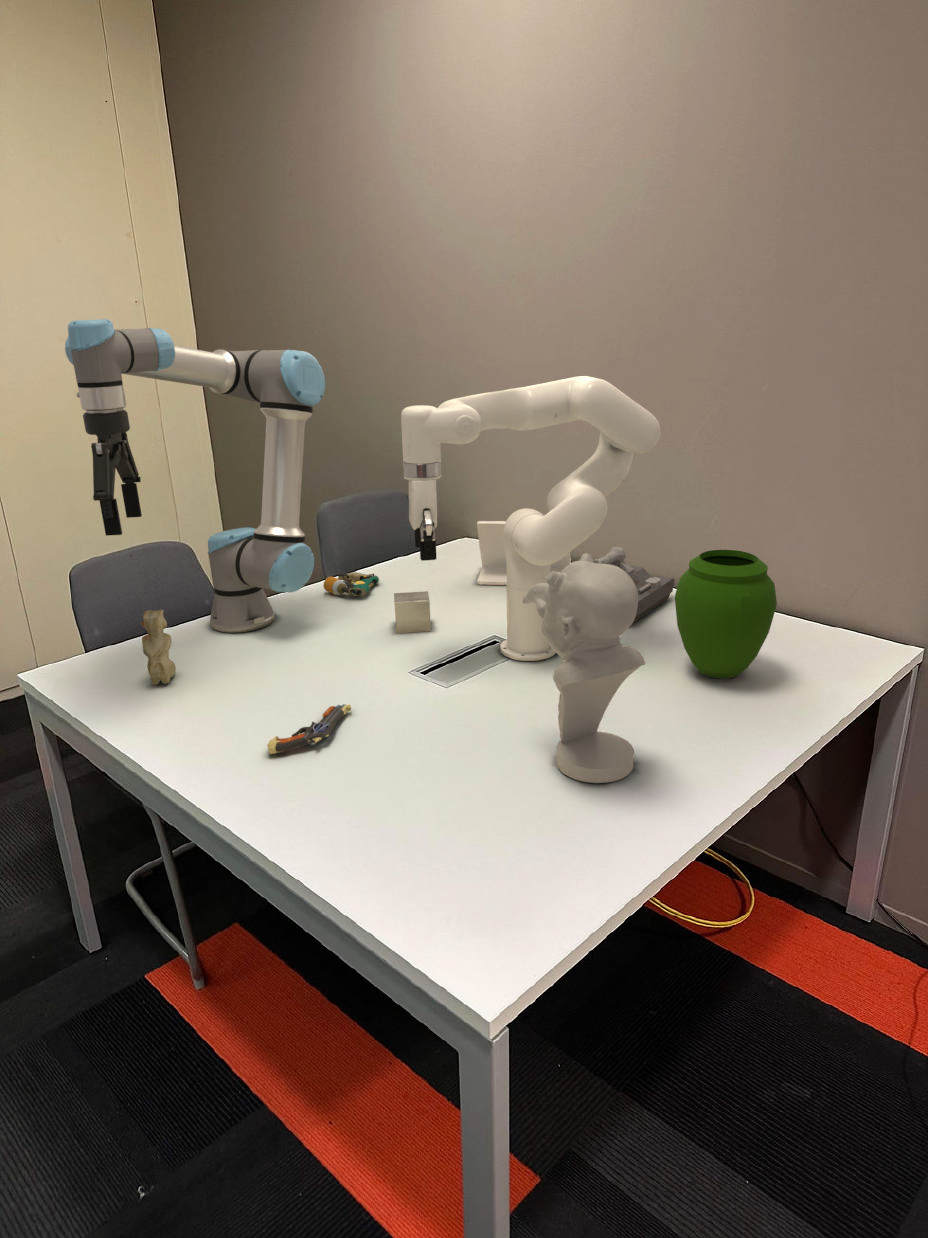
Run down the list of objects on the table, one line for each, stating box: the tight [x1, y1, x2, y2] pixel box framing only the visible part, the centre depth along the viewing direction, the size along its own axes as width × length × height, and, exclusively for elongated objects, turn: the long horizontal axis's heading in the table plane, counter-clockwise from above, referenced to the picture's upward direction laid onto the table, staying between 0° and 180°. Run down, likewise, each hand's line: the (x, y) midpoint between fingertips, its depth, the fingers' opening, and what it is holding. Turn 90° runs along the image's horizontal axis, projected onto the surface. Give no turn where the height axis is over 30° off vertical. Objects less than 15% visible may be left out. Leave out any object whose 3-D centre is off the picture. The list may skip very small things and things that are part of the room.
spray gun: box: [323, 571, 380, 597], centre depth 231 cm, size 4×17×15 cm
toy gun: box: [267, 703, 352, 755], centre depth 155 cm, size 3×19×10 cm
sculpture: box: [141, 608, 177, 685], centre depth 176 cm, size 6×7×15 cm
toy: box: [593, 546, 676, 624], centre depth 212 cm, size 25×20×15 cm
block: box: [393, 591, 432, 634], centre depth 203 cm, size 7×8×8 cm
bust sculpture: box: [522, 553, 646, 784], centre depth 140 cm, size 16×24×35 cm, turn 28°
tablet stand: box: [476, 520, 572, 586], centre depth 236 cm, size 18×25×17 cm
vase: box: [674, 549, 778, 680], centre depth 171 cm, size 20×20×24 cm
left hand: (124, 525), depth 161 cm, fingers open, 13 cm apart
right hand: (425, 553), depth 175 cm, fingers open, 9 cm apart
